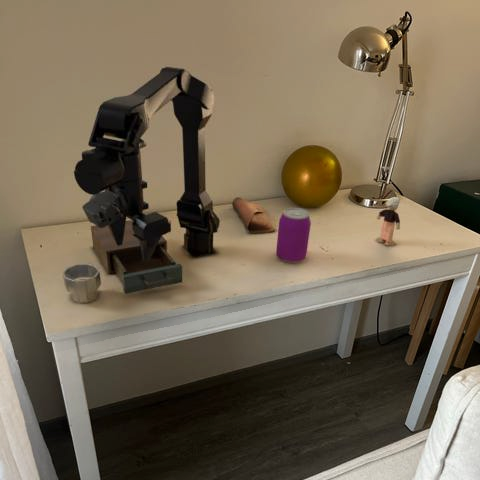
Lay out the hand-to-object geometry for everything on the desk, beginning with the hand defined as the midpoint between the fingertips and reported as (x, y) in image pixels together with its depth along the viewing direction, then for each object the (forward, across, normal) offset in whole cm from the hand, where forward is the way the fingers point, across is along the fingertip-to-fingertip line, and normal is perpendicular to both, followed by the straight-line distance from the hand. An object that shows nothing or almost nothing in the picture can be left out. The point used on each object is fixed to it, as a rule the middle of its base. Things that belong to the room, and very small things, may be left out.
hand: (132, 253), depth 101 cm
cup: (+12, -9, -7) cm, 17 cm away
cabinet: (+12, -19, +11) cm, 25 cm away
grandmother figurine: (+12, +18, +69) cm, 72 cm away
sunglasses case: (+12, -15, +51) cm, 54 cm away
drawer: (+11, -6, +7) cm, 15 cm away
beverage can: (+12, +7, +42) cm, 44 cm away
